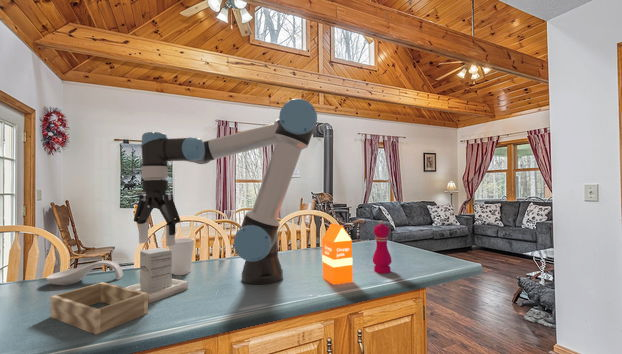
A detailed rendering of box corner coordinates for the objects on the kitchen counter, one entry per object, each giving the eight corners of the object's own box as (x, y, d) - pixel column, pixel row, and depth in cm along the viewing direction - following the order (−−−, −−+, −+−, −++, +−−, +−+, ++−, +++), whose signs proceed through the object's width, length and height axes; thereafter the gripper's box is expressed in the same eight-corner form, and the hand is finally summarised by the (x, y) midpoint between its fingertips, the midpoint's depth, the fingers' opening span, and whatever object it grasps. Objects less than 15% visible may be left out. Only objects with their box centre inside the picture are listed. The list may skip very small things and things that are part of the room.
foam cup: (198, 269, 124) (198, 238, 125) (186, 276, 115) (186, 242, 116) (176, 269, 125) (176, 238, 126) (163, 276, 116) (163, 242, 117)
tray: (188, 288, 101) (188, 281, 101) (149, 303, 89) (149, 295, 89) (161, 283, 108) (161, 276, 108) (121, 296, 95) (121, 288, 95)
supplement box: (139, 289, 98) (139, 250, 98) (162, 283, 103) (162, 246, 104) (148, 294, 93) (148, 253, 93) (172, 288, 99) (172, 249, 99)
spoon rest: (38, 290, 103) (38, 269, 103) (57, 279, 114) (57, 260, 115) (116, 283, 109) (116, 263, 109) (127, 274, 120) (127, 256, 120)
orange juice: (333, 285, 103) (332, 226, 103) (322, 277, 111) (321, 223, 111) (353, 281, 106) (352, 225, 107) (340, 274, 114) (339, 222, 115)
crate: (147, 313, 82) (147, 293, 82) (95, 334, 71) (95, 311, 71) (102, 300, 92) (102, 282, 92) (50, 316, 81) (50, 296, 81)
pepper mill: (394, 270, 119) (393, 219, 120) (388, 275, 113) (387, 221, 114) (376, 267, 123) (375, 218, 124) (370, 272, 117) (369, 220, 117)
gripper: (191, 178, 97) (192, 244, 96) (142, 180, 108) (143, 239, 108) (170, 178, 90) (172, 249, 90) (121, 181, 102) (122, 243, 101)
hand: (156, 244), depth 99 cm, fingers open, 13 cm apart
